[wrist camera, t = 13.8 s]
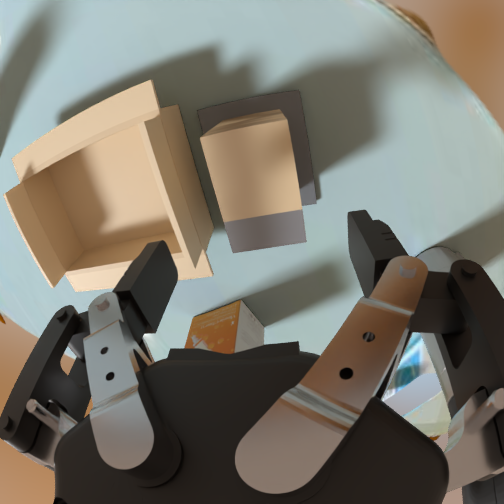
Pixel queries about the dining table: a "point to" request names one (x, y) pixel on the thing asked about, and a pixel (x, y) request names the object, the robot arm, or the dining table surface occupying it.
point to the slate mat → (296, 122)
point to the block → (255, 180)
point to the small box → (226, 330)
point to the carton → (111, 193)
